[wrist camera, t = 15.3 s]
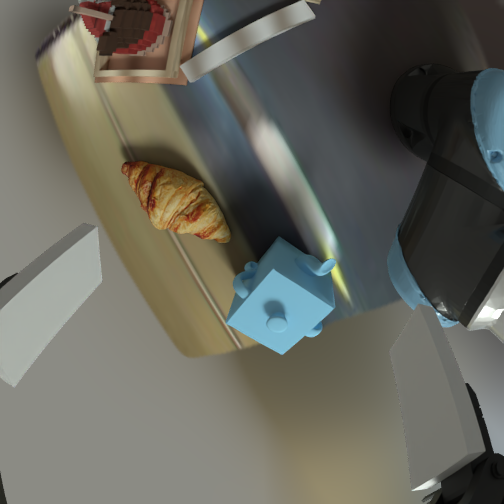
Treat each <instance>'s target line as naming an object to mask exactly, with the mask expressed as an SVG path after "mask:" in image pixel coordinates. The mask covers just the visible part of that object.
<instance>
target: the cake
mask: <svg viewBox="0 0 504 504" xmlns="http://www.w3.org/2000/svg"><path fill="white" fill-rule="evenodd" d="M78 1H79V3H80V6H75V5H74V6H70V9H69V12H74V13H79V14H81V15H82V18H83V21H84V24H85V26H86V29H89V30H88V32H91V35H95V37H94V38H96V39H95V40H97V43H98V46H97V51H99V56H112V54H113V53H116V54H129V56H146V52H154V50H155V48H159V45H160V44H161V45H164V40H165V37H169V36H170V32H171V28H172V24H173V21H172V20H170V16H171V13H169V12H168V9H165V6H164V5H159V4H158V2H157V1H155V0H106V1H105V2H102V3H99V4H97V3H95V1H96V0H78Z"/></svg>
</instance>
